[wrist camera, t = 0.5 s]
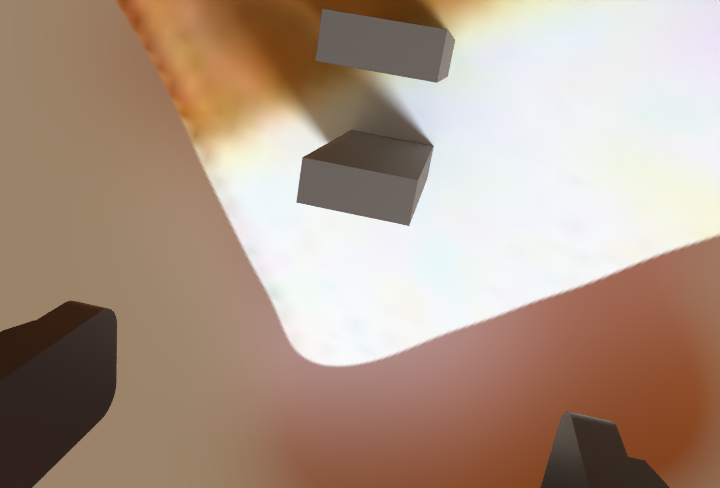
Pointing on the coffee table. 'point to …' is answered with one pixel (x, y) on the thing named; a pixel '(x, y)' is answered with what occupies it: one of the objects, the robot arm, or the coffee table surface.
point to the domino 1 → (384, 46)
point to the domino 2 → (366, 176)
